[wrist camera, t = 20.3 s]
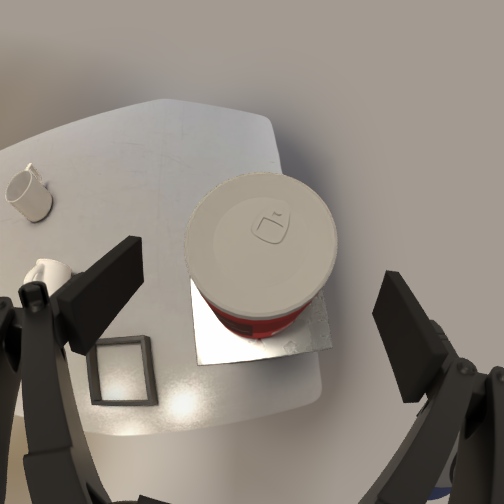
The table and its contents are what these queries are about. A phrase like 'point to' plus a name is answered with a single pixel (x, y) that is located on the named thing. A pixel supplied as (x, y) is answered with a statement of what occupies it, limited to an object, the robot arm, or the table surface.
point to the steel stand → (250, 349)
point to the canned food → (260, 251)
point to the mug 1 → (29, 194)
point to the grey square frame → (147, 365)
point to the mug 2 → (49, 274)
